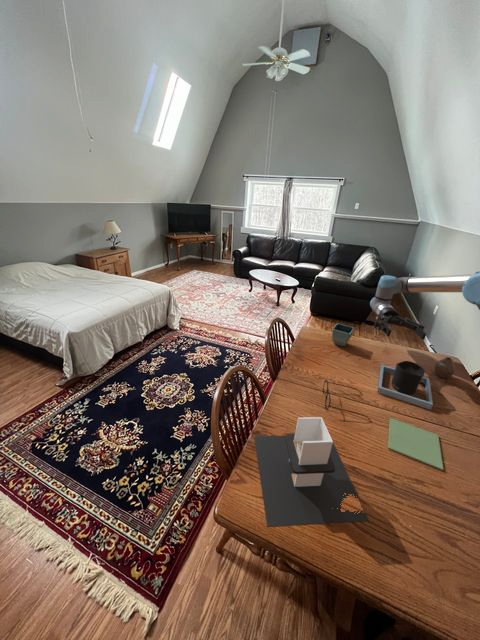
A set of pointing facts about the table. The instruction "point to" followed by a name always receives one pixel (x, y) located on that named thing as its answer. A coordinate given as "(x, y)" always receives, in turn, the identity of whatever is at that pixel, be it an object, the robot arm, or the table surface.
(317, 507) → the hopper stand
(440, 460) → the mat
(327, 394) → the glasses
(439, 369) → the vase
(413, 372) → the pen holder
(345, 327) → the flower pot
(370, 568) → the table surface
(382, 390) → the gray square frame
